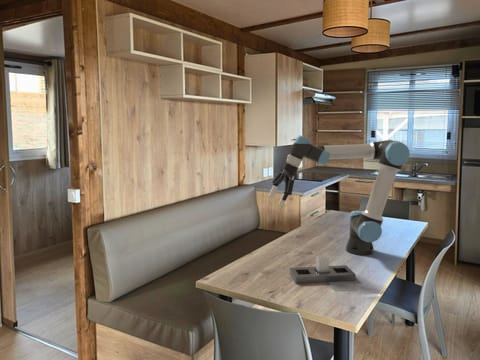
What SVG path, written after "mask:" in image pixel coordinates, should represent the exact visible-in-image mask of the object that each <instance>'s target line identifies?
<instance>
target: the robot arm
mask: <svg viewBox="0 0 480 360" xmlns="http://www.w3.org/2000/svg"><path fill="white" fill-rule="evenodd" d="M311 141H312V140H311V139H309V138H308V137H306V136H303V135H298V136H296V139H295V140H294V142H293V144H292V147H291V148H290V151H289V153H288V155H287V158H286V162H284V164H283V167H282V168H281V169H280V170H279V172H278V173H277V175H276V176H275V178H274V179H273V180H272V187H271V189H270V191H269V193H268V197H270V198H274V196H275V194H276V192H277V190H278V188H279V185H281V183H282V182H284V192H283V193H282V194H281V197H280V200H279V202H278V203H277V205H278V206H281V207H284V206H285V203H286V202H287V199H288V197H289V196H292V193H293V188H294V184H295V180H296V178H297V177H296V176H295V174H297V173H298V170H299V167H300V166H301V164H302V162H303V160H304V158H305V159H308V160H310V161H312V162H315V163H317V164H318V165H322V166H325V165H326V164H327V163H328V161H329V160H336V159H338V160H339V159H344V160H345V159H346V160H347V159H370V160H378V165H379V169H378V172H377V176H376V178H375V182H374V184H373V187H372V189H371V193H370V195H369V199H368V200H367V201H368V202H367V204H366V207H365V210H352V211H351V212H350V215H349V217H350V218H349V237H348V239H347V242H346V245H345V251H346V252H347V253H349V254H352V255H353V254H354V255H359V256H360V255H361V256H366V255H367V256H368V255H371V254H374V252H375V251H374V249H375V247H374V245H373V243H374V242H377V241H378V240H379V239H380V238H381V236H382V233H383V229H382V224H383V222H384V218H383V212H384V209H385V206H386V204H387V200H388V198H389V196H390V193H391V190H392V186H393V185H394V182H395V179H396V176H397V174H398V172H400V171H402V168H403V165H405V164H406V163H407V162H408V160H409V159H410V156H411V155H410V149H409V147H408V146H407V145H406V144H405V143H403V142H401V141H398V140H392V139H387V140H381V141H371V142H369V143H362V144H356V143H355V144H333V145H331V144H330V145H313V144H312V143H311Z"/></svg>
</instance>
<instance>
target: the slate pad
mask: <svg viewBox="0 0 480 360" xmlns="http://www.w3.org/2000/svg"><path fill="white" fill-rule="evenodd" d="M327 283H328V285H330V287H331V288H332V289H333V291H335V292H352V291H354V292H355V291H358V289H357V288H356V287H355V286H354V285H353V284H352V282H351V281H343V282H327Z"/></svg>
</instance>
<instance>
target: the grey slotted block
mask: <svg viewBox="0 0 480 360" xmlns="http://www.w3.org/2000/svg"><path fill="white" fill-rule="evenodd" d="M289 275H290V276H291V278H292V281H293V282H294V283H295V285H300V284H318V283H319V284H320V283H328V282H343V281H350V282H356V278H357V277H356V275H357V274H356V273H355V272H354V271H353V270H352V269H351V268H350V267H349V266H347V264H346V265H329V270H328V273H325V274H317V272H316V266H301V267H300V266H299V267H289Z"/></svg>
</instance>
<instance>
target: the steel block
mask: <svg viewBox="0 0 480 360" xmlns="http://www.w3.org/2000/svg"><path fill="white" fill-rule="evenodd" d="M329 262H330V258H329V256H327V255H326V254H318V255H315V267H316V272H317V274H325V273H328V270H329V266H330V263H329Z"/></svg>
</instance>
